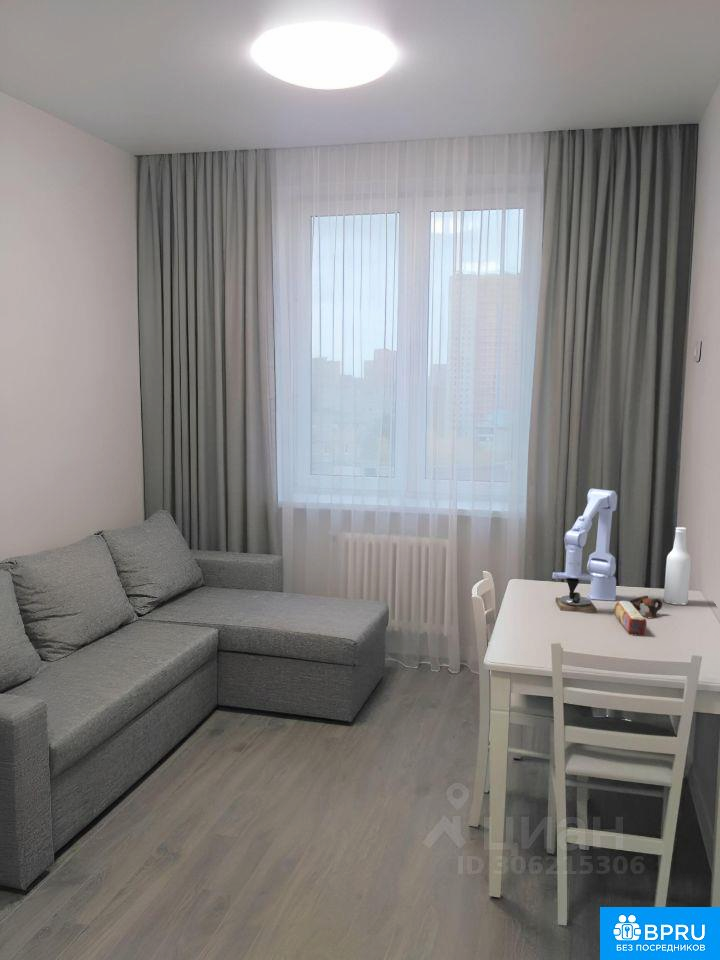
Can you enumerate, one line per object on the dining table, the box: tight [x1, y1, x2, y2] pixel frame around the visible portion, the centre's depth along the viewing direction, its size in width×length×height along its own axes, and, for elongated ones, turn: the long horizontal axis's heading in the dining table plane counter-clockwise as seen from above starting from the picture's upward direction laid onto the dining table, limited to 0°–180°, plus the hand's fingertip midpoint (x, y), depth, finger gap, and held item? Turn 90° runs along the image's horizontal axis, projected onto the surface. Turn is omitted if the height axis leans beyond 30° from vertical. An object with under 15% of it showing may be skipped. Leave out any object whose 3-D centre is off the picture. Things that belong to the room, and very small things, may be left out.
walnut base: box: [555, 597, 597, 613], centre depth 293 cm, size 13×13×2 cm
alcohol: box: [663, 526, 692, 604], centre depth 302 cm, size 9×9×30 cm
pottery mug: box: [628, 595, 663, 618], centre depth 286 cm, size 12×10×8 cm
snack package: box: [614, 600, 647, 636], centre depth 269 cm, size 21×7×7 cm, turn 173°
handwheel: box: [560, 591, 592, 606], centre depth 293 cm, size 11×11×5 cm
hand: (571, 598), depth 289 cm, fingers closed, pressing on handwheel
